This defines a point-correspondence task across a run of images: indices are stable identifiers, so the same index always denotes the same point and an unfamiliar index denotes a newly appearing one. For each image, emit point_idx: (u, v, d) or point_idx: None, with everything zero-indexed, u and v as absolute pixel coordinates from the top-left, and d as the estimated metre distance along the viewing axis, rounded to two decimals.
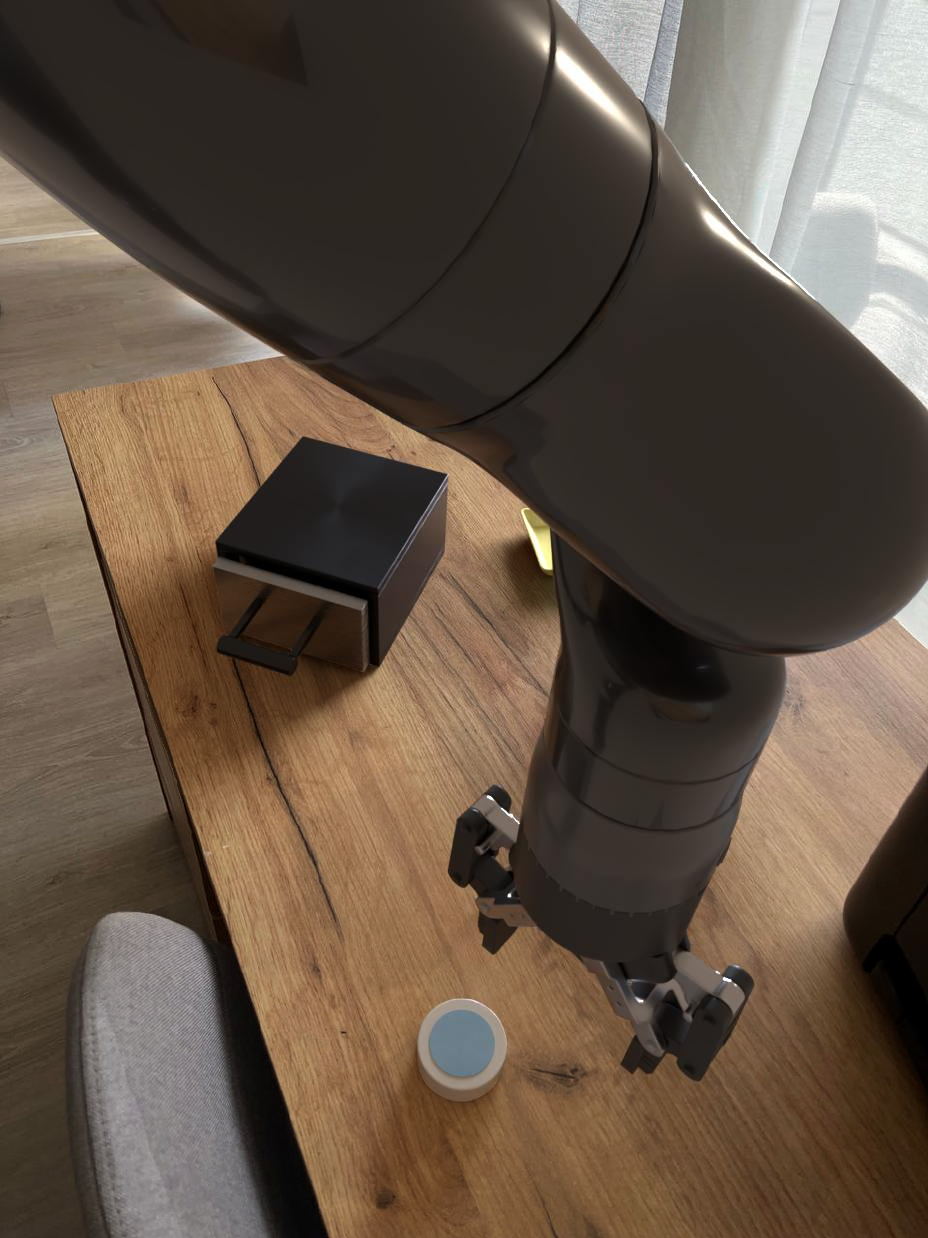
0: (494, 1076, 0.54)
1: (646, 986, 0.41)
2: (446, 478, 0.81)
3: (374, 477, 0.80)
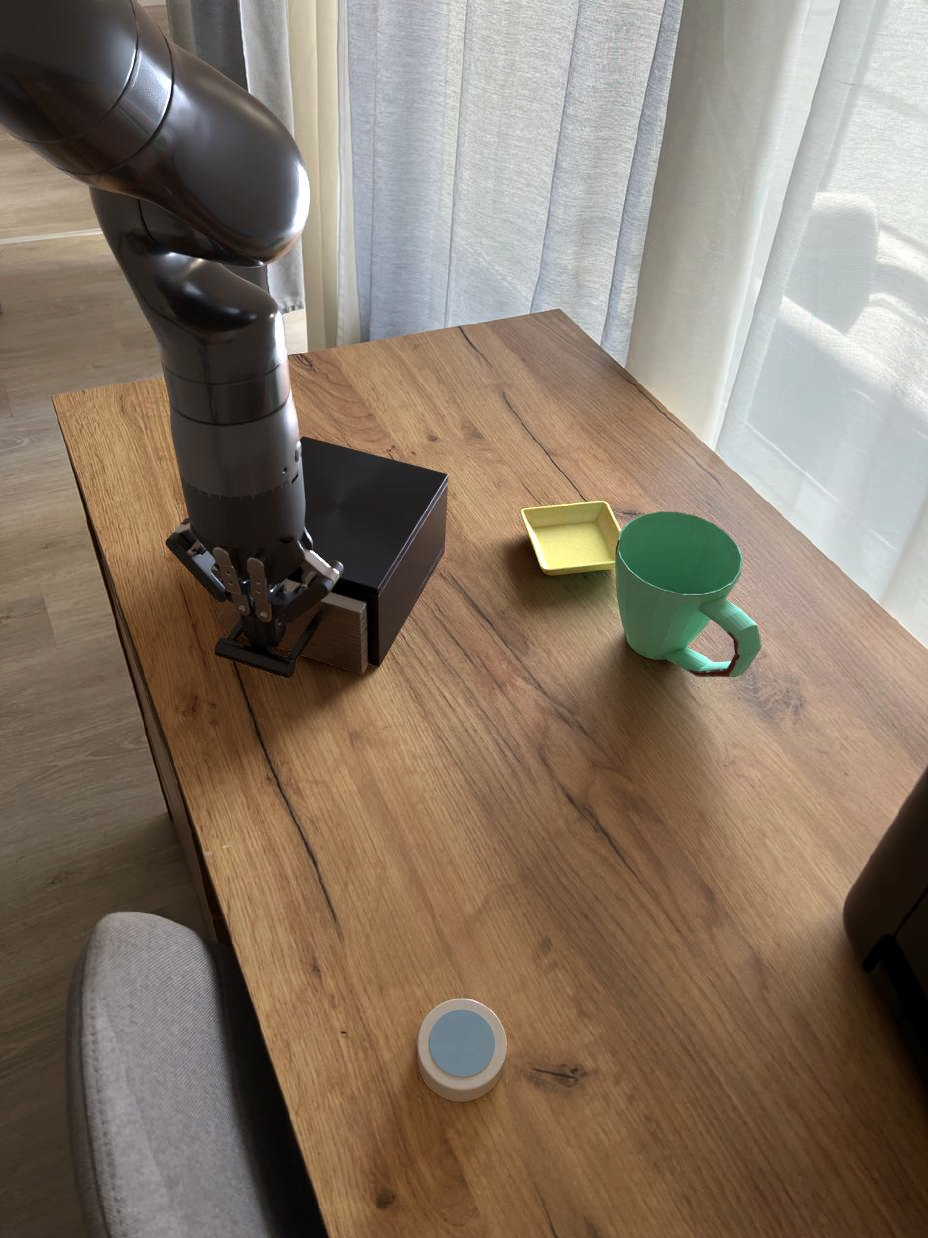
0: (494, 1076, 0.54)
1: None
2: (446, 478, 0.81)
3: (374, 477, 0.80)
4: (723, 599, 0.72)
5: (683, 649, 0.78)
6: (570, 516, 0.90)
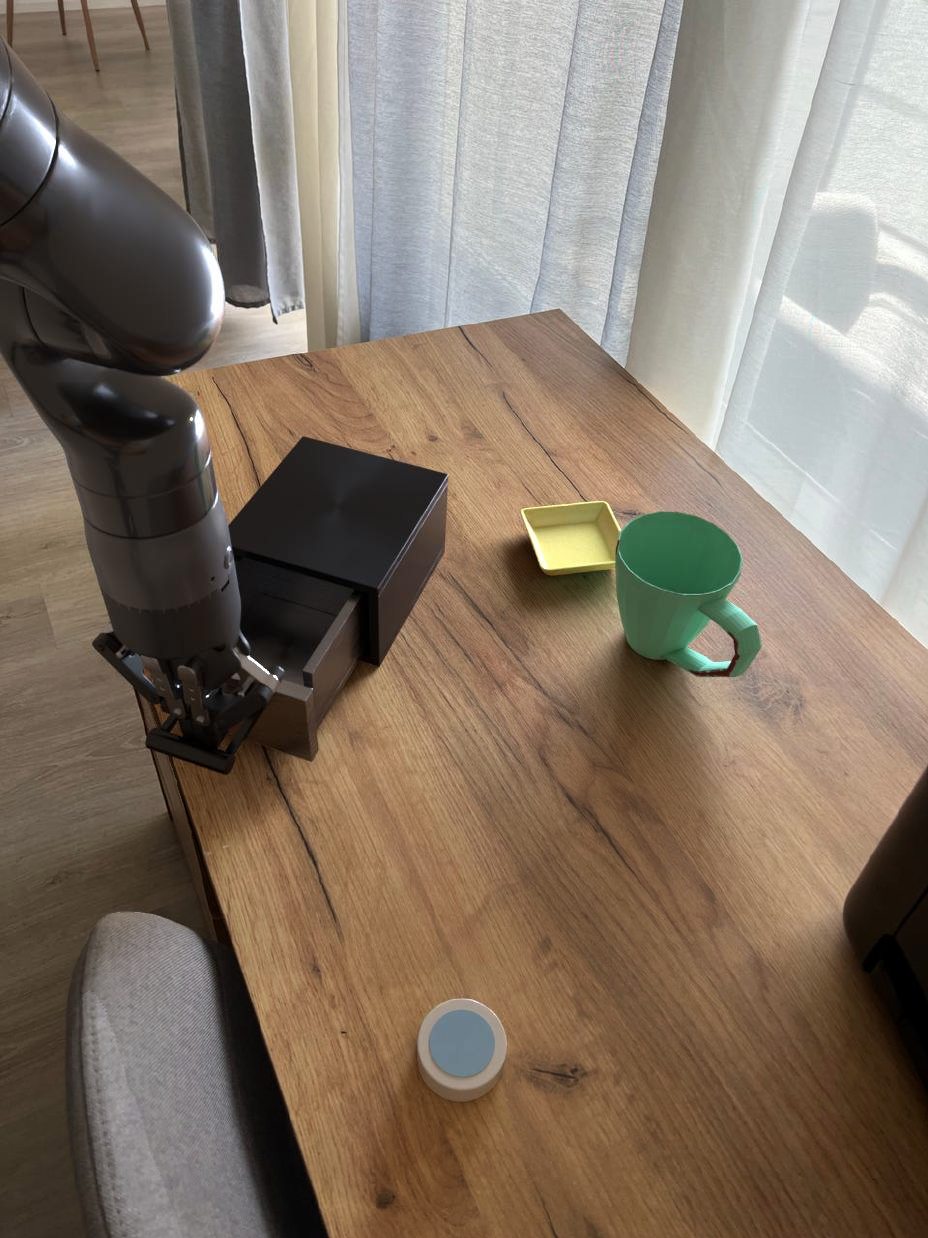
0: (494, 1076, 0.54)
1: None
2: (446, 478, 0.81)
3: (374, 477, 0.80)
4: (723, 599, 0.72)
5: (683, 649, 0.78)
6: (570, 516, 0.90)
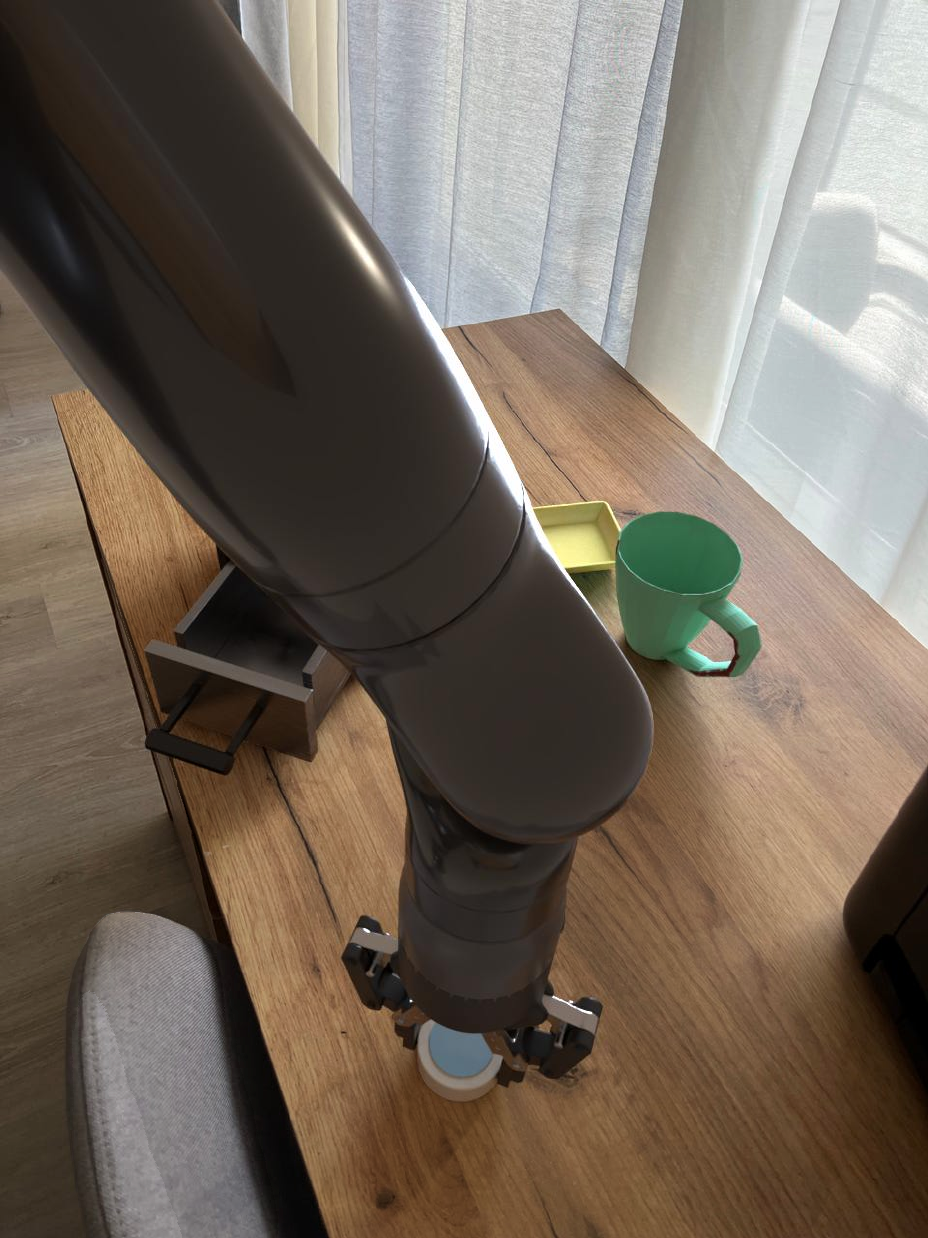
0: (494, 1076, 0.54)
1: None
2: None
3: None
4: (723, 599, 0.72)
5: (683, 649, 0.78)
6: (570, 516, 0.90)
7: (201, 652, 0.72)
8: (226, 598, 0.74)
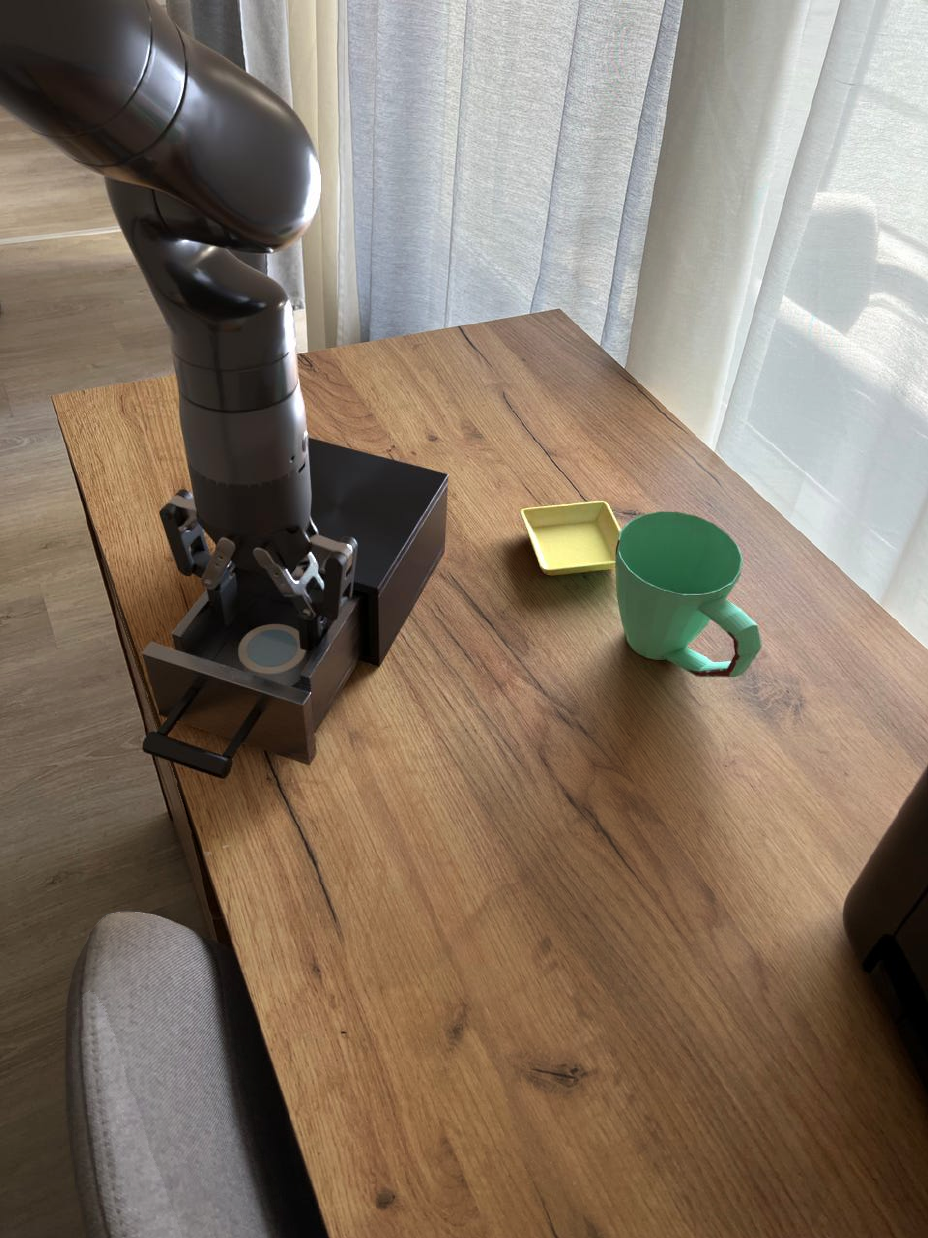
0: (293, 667, 0.72)
1: (298, 575, 0.66)
2: (446, 478, 0.81)
3: (374, 477, 0.80)
4: (723, 599, 0.72)
5: (683, 649, 0.78)
6: (570, 516, 0.90)
7: (199, 655, 0.72)
8: None
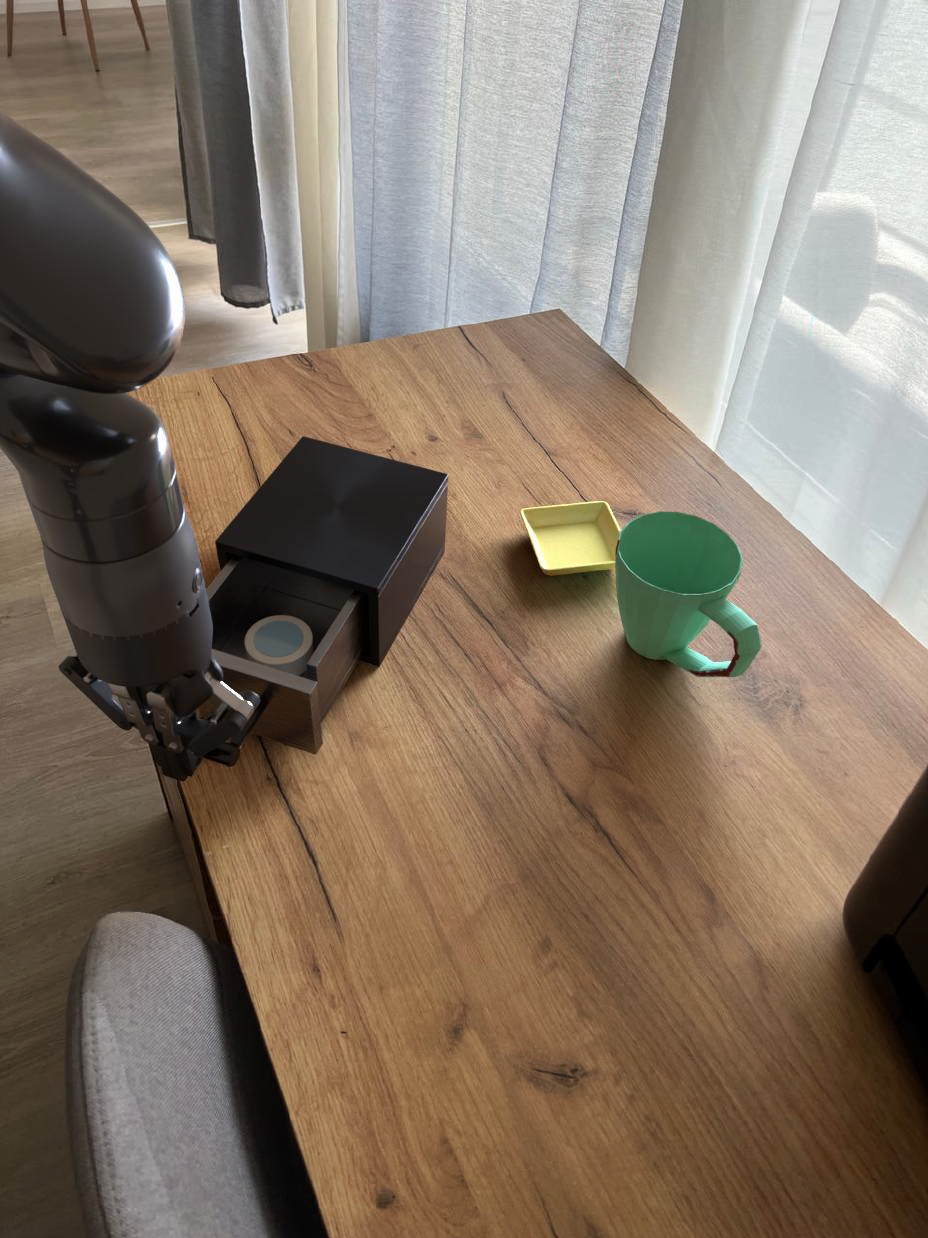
0: (300, 657, 0.73)
1: None
2: (446, 478, 0.81)
3: (374, 477, 0.80)
4: (723, 599, 0.72)
5: (683, 649, 0.78)
6: (570, 516, 0.90)
7: None
8: (231, 592, 0.74)
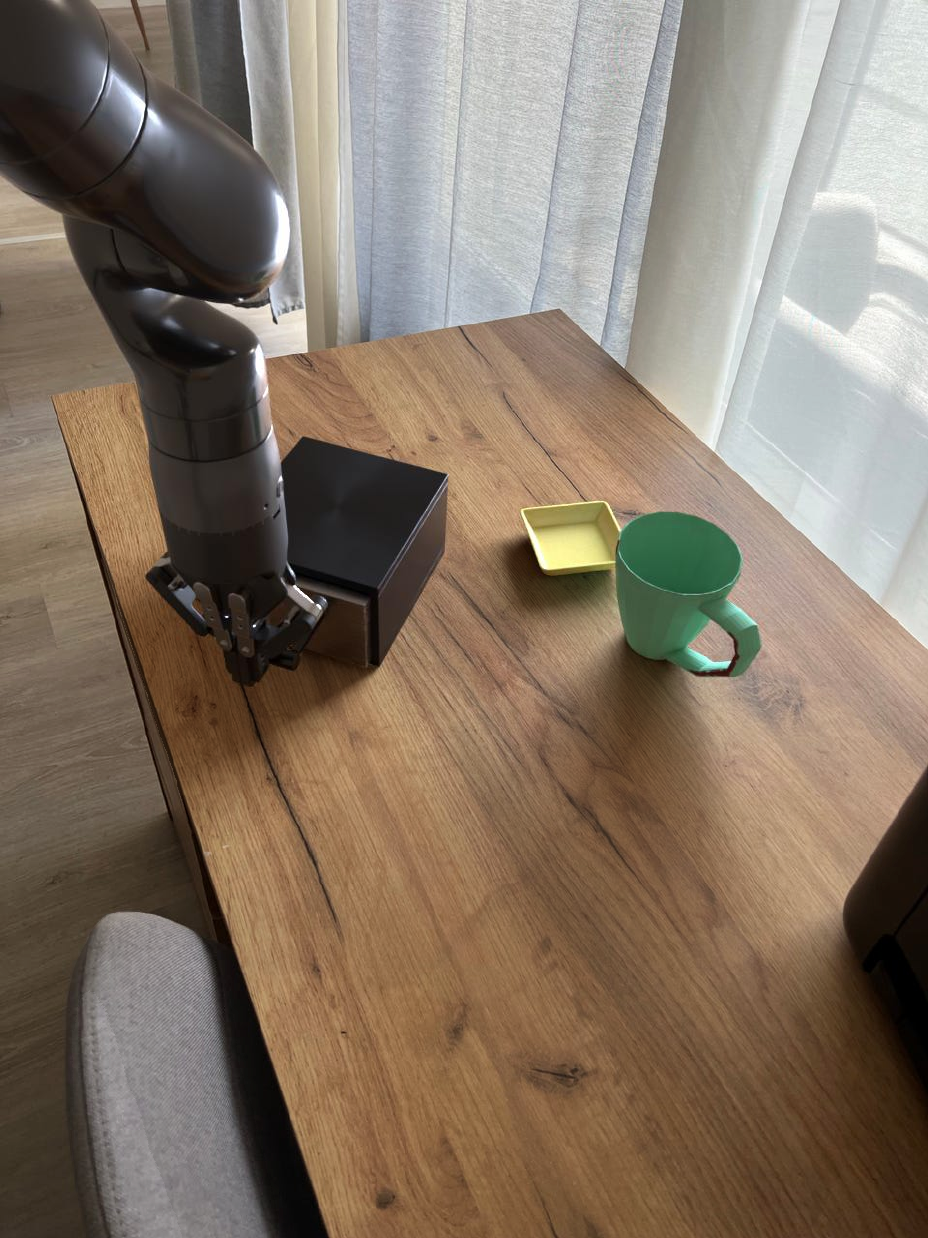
0: None
1: None
2: (446, 478, 0.81)
3: (374, 477, 0.80)
4: (723, 599, 0.72)
5: (683, 649, 0.78)
6: (570, 516, 0.90)
7: None
8: None
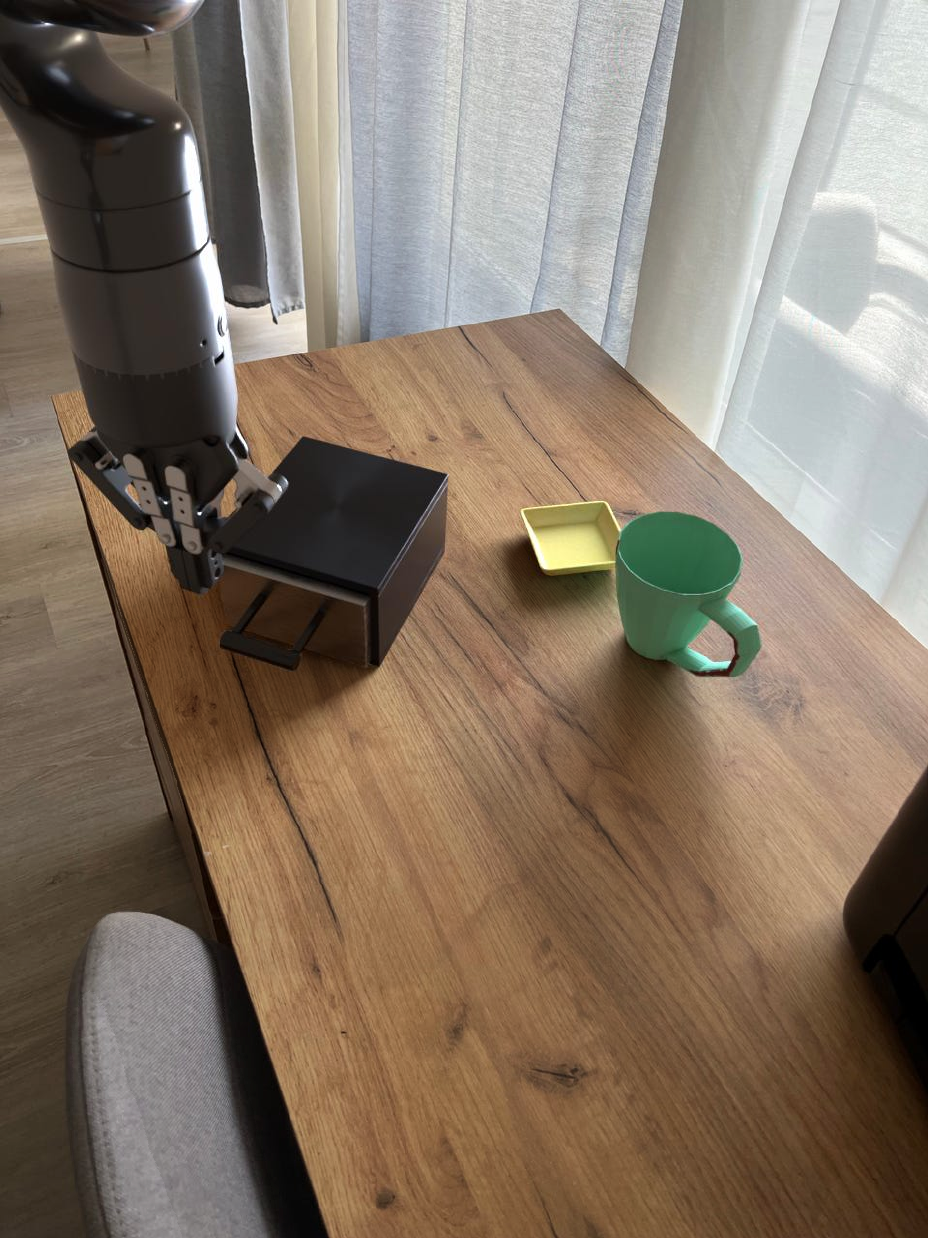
0: None
1: None
2: (446, 478, 0.81)
3: (374, 477, 0.80)
4: (723, 599, 0.72)
5: (683, 649, 0.78)
6: (570, 516, 0.90)
7: None
8: None
